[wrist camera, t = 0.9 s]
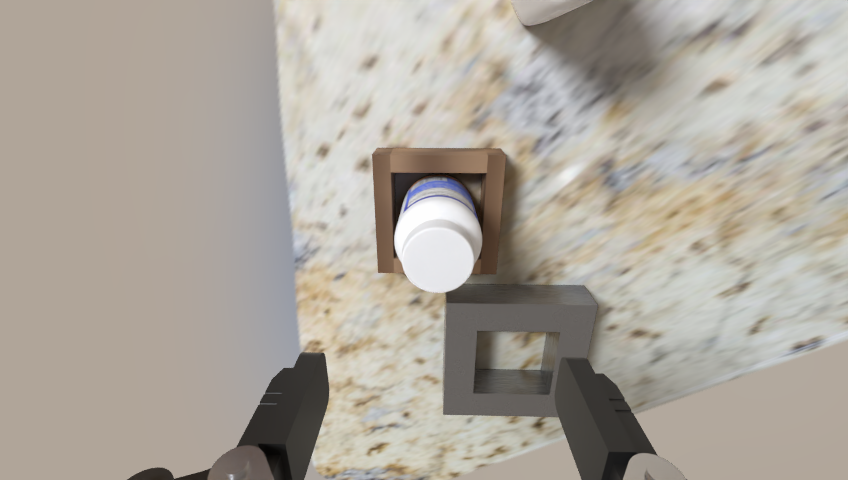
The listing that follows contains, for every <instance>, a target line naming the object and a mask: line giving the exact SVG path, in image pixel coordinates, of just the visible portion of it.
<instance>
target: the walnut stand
mask: <svg viewBox="0 0 848 480" xmlns="http://www.w3.org/2000/svg"><path fill="white" fill-rule="evenodd" d="M372 160H373V180H374V199H375V219H376V239H377V258H378V273H405V272H404V270H403V266H402V263H401V261H400V260H399V258H398V256H397V253H396V250H395V245H394V236H395V230H396V207H395V173H482V183H481V200H480V216H479V224H480V228H481V232H482V248H481V252H480V255H479V257H478V259H477V261H476V262H475V264H474V267H473V271H472V273H471V274H496V270H497V258H498V246H499V234H500V222H501V210H502V199H503V187H504V175H505V163H506V155H505V154H504V152H503V151H502V150H501V149H478V148H377V149H376V150H375V152H374V153H373V154H372Z"/></svg>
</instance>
